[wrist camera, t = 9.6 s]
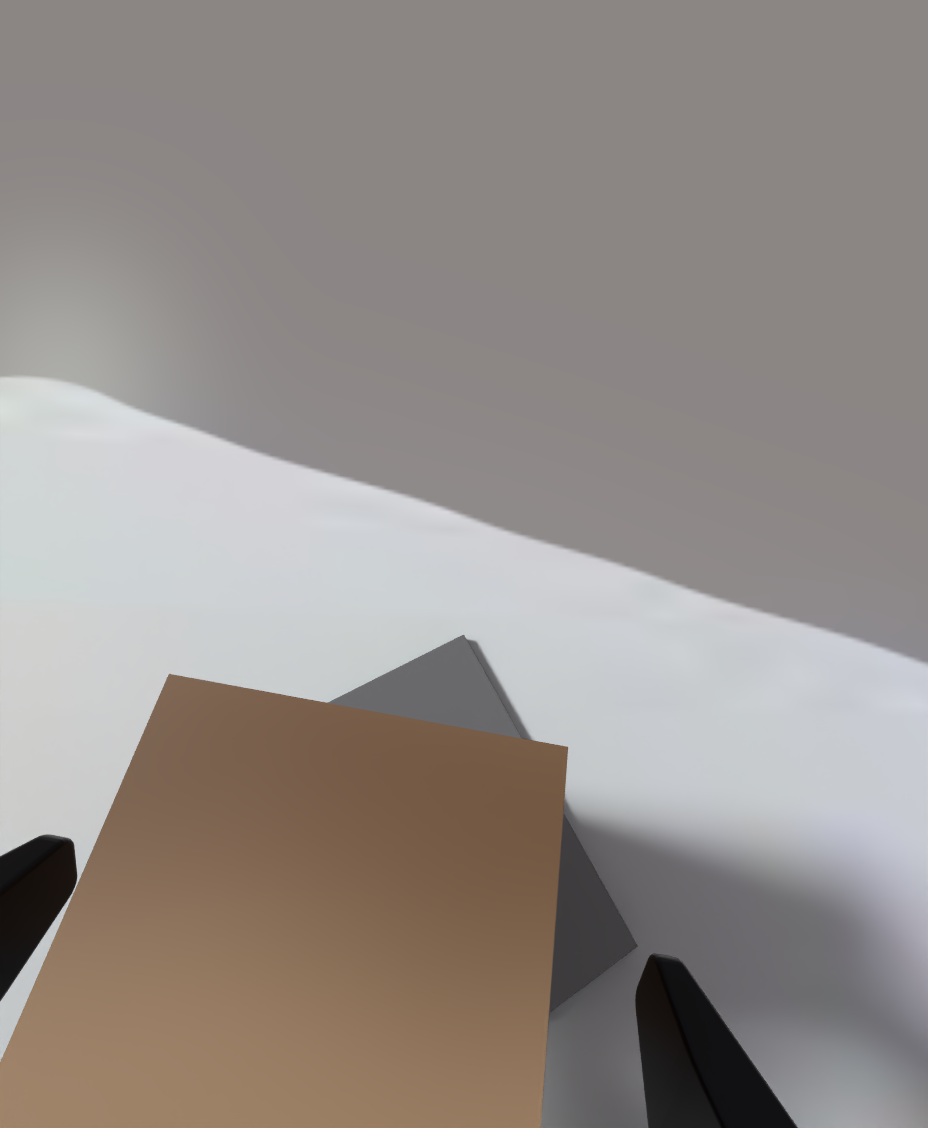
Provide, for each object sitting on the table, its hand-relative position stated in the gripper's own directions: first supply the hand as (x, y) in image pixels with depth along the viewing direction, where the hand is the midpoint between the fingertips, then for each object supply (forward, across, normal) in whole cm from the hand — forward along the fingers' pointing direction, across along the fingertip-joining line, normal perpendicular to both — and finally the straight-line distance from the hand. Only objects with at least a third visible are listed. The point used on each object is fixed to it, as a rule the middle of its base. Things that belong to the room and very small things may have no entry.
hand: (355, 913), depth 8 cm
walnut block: (+5, 0, +5) cm, 7 cm away
